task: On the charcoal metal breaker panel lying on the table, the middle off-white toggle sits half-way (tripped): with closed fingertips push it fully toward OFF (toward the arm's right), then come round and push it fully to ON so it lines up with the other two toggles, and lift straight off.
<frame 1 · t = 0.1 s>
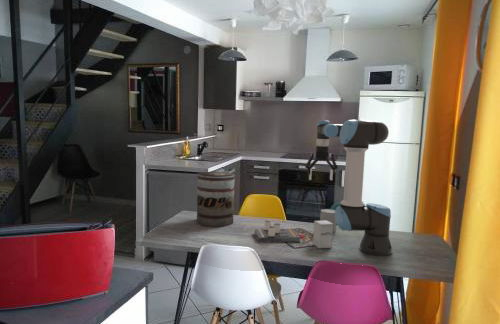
hand: (320, 179, 227), 28 cm above the table, fingers open, 13 cm apart
grey block: (327, 231, 214), on the table
supplement box: (322, 246, 187), on the table
barrel: (215, 222, 226), on the table
panel: (276, 237, 199), on the table
breaker right: (267, 225, 203), point 5 cm above the table, slide at 4.0 cm
breaker left: (271, 231, 192), point 5 cm above the table, slide at 4.0 cm
breaker mid: (276, 228, 198), point 5 cm above the table, slide at 0.0 cm
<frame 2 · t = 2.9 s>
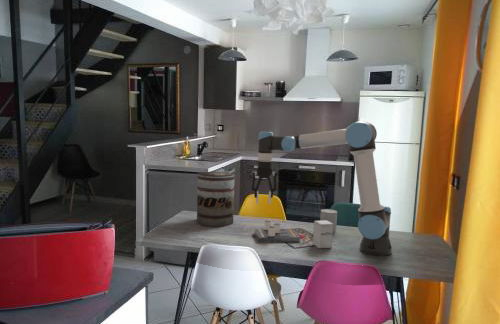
hand: (263, 203, 196), 19 cm above the table, fingers open, 6 cm apart
nothing on the table moved.
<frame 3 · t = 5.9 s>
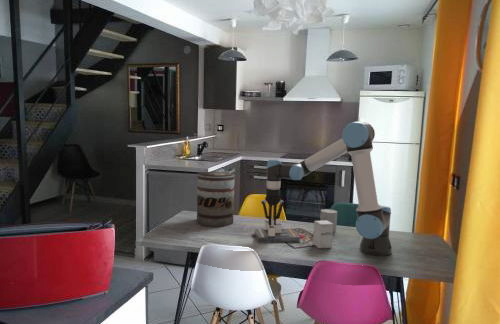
hand: (271, 231, 198), 4 cm above the table, fingers closed
breaker mid: (278, 228, 198), point 5 cm above the table, slide at -0.7 cm, touching gripper
everything else where it was.
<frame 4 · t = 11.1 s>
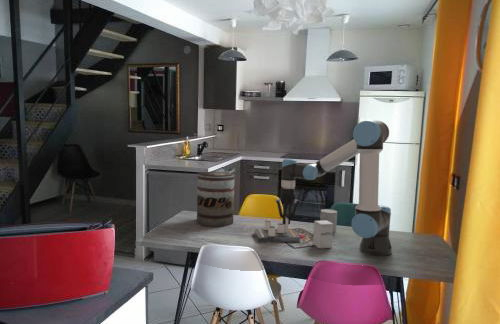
hand: (286, 230, 199), 4 cm above the table, fingers closed
breaker mid: (280, 228, 199), point 5 cm above the table, slide at -2.1 cm, touching gripper
everything else where it was.
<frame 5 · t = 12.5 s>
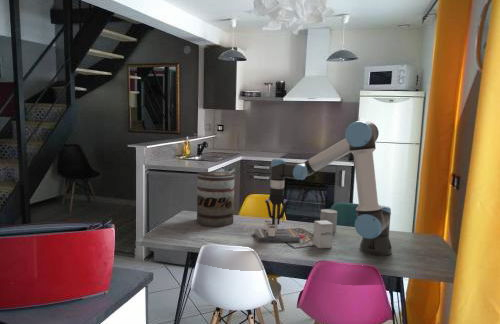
hand: (275, 230, 198), 4 cm above the table, fingers closed
breaker mid: (269, 228, 198), point 5 cm above the table, slide at 3.9 cm, touching gripper
everything else where it was.
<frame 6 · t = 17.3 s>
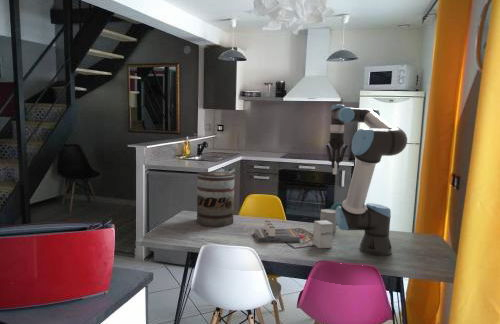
hand: (334, 174, 207), 34 cm above the table, fingers closed
breaker mid: (269, 228, 198), point 5 cm above the table, slide at 4.0 cm
everything else where it was.
at the end: breaker mid slide at 4.0 cm; breaker left slide at 4.0 cm; breaker right slide at 4.0 cm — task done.
